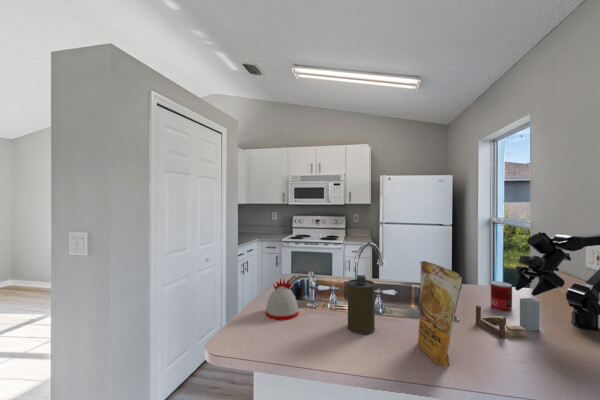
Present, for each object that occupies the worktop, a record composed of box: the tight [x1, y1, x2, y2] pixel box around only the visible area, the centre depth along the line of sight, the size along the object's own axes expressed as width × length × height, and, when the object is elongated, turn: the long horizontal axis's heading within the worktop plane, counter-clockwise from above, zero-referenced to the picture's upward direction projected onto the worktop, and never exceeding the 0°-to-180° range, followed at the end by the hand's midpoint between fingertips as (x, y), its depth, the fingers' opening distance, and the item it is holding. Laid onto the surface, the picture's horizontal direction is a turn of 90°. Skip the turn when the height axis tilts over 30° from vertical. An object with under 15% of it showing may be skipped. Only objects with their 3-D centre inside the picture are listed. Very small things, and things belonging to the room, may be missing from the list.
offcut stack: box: [505, 325, 529, 339], centre depth 104 cm, size 7×4×3 cm, turn 96°
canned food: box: [490, 280, 513, 312], centre depth 131 cm, size 8×8×11 cm
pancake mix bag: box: [417, 260, 463, 370], centre depth 92 cm, size 7×19×28 cm, turn 5°
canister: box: [346, 274, 376, 336], centre depth 110 cm, size 11×10×20 cm
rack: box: [475, 305, 507, 340], centre depth 109 cm, size 12×13×7 cm
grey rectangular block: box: [519, 297, 540, 332], centre depth 110 cm, size 5×3×11 cm, turn 96°
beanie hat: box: [265, 278, 299, 321], centre depth 124 cm, size 14×14×15 cm
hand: (524, 292), depth 112 cm, fingers open, 9 cm apart
